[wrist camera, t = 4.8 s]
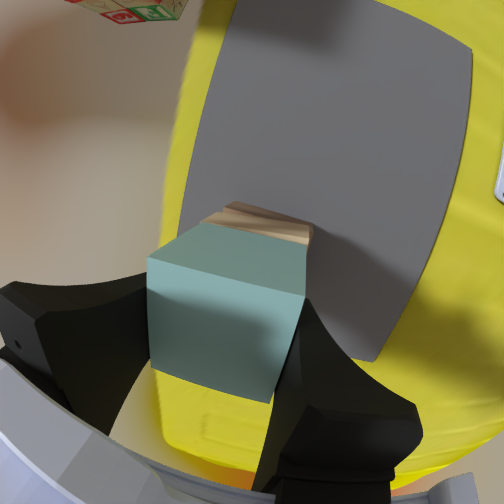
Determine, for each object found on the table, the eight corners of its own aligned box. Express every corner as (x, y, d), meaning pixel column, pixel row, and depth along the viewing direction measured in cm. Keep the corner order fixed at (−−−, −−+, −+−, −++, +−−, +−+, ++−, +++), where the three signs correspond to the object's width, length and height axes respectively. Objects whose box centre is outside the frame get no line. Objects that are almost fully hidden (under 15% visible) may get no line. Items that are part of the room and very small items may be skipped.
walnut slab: (312, 223, 16) (313, 233, 14) (289, 292, 18) (286, 311, 16) (235, 200, 17) (223, 206, 15) (219, 270, 19) (207, 286, 16)
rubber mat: (469, 50, 10) (471, 49, 10) (372, 360, 19) (372, 362, 19) (248, -22, 11) (247, -24, 11) (170, 299, 21) (168, 301, 20)
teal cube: (306, 245, 11) (305, 296, 7) (282, 332, 13) (269, 403, 8) (202, 221, 12) (146, 256, 7) (193, 309, 13) (151, 367, 9)
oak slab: (308, 225, 14) (309, 238, 12) (293, 308, 16) (290, 332, 13) (216, 211, 15) (199, 221, 12) (211, 292, 16) (197, 313, 14)
